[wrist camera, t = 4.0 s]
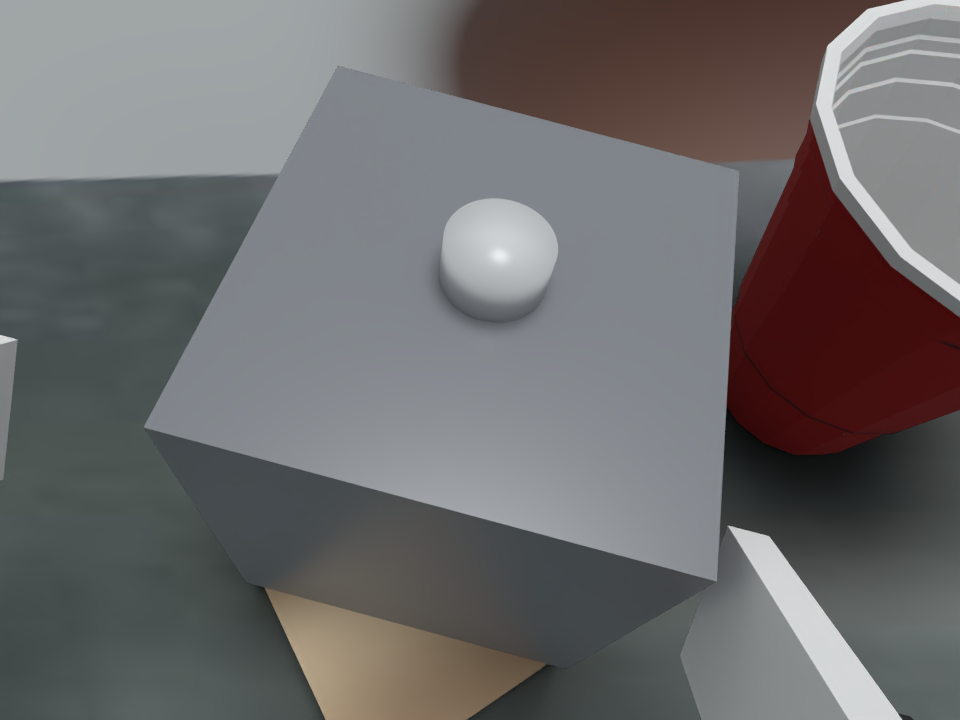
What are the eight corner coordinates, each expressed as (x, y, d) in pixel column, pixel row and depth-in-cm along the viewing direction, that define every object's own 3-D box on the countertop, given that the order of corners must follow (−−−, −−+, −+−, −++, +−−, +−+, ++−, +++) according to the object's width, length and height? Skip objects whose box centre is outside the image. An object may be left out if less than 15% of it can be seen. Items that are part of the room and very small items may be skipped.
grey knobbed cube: (609, 388, 24) (760, 135, 15) (566, 669, 19) (746, 564, 10) (351, 319, 24) (336, 24, 15) (245, 582, 19) (123, 397, 10)
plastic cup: (717, 567, 23) (1001, 389, 12) (607, 291, 28) (744, 2, 17) (992, 501, 25) (1420, 308, 15) (845, 258, 30) (1088, -11, 20)
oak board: (702, 558, 23) (717, 547, 22) (360, 791, 18) (360, 792, 17) (499, 283, 27) (504, 264, 26) (187, 420, 23) (178, 402, 22)
